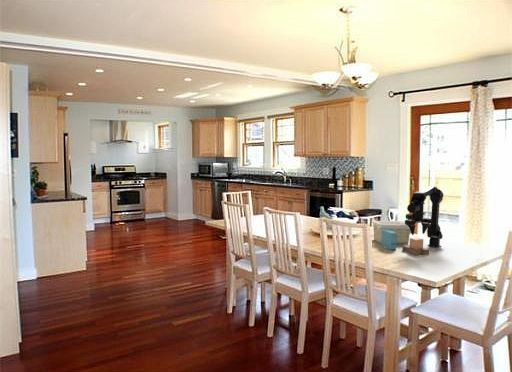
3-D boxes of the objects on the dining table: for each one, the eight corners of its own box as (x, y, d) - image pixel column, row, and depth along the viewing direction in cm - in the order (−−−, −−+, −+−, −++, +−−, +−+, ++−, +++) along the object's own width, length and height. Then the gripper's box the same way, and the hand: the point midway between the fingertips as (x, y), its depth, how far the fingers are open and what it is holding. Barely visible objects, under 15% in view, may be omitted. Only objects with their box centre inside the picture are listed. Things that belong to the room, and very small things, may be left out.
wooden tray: (414, 250, 275) (414, 244, 275) (429, 255, 262) (429, 249, 262) (402, 251, 272) (402, 245, 272) (416, 256, 259) (416, 250, 259)
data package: (396, 249, 274) (397, 232, 273) (390, 250, 273) (391, 233, 272) (386, 246, 286) (387, 229, 285) (381, 246, 285) (381, 229, 284)
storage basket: (401, 239, 309) (402, 220, 308) (411, 244, 293) (412, 224, 292) (371, 239, 307) (372, 220, 306) (379, 244, 291) (380, 224, 290)
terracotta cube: (416, 246, 270) (416, 237, 270) (423, 248, 265) (423, 239, 264) (409, 247, 268) (409, 238, 268) (416, 248, 263) (416, 239, 262)
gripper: (420, 208, 277) (419, 230, 279) (399, 210, 270) (398, 233, 272) (433, 210, 267) (432, 233, 268) (411, 212, 260) (410, 236, 261)
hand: (418, 234), depth 268 cm, fingers open, 9 cm apart
